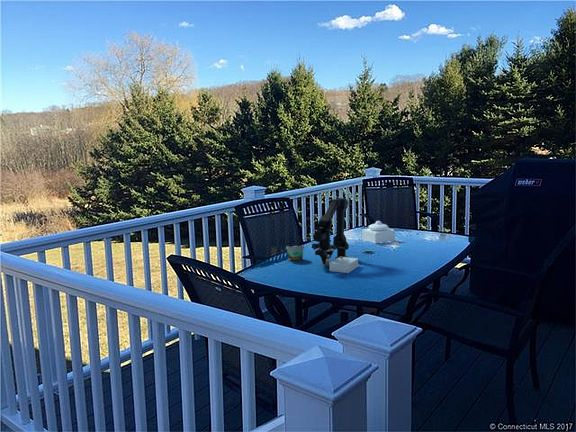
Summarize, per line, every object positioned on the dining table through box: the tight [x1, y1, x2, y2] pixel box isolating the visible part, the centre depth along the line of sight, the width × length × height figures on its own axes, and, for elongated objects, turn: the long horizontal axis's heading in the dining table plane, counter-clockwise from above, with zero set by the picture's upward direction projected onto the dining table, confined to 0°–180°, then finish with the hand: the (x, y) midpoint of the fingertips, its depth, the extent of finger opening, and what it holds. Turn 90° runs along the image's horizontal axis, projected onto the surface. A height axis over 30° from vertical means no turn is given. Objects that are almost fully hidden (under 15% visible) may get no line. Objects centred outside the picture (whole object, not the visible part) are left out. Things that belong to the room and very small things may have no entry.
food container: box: [285, 244, 305, 263], centre depth 307 cm, size 12×6×10 cm, turn 105°
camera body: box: [329, 256, 359, 274], centre depth 284 cm, size 16×12×6 cm
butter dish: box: [361, 220, 396, 244], centre depth 358 cm, size 18×18×16 cm
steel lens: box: [321, 254, 331, 268], centre depth 292 cm, size 5×5×7 cm
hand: (325, 263), depth 293 cm, fingers closed on steel lens, 5 cm apart
